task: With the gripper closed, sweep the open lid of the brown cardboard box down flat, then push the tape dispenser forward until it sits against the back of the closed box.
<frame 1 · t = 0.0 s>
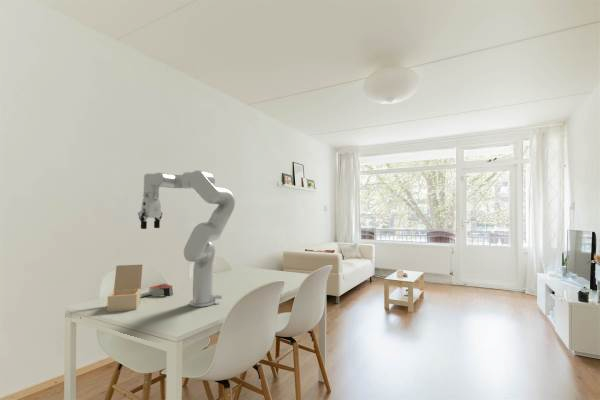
hand: (150, 228, 172), 37 cm above the table, tool pointing down, fingers open, 9 cm apart
box: (124, 307, 155), on the table
tape dispenser: (155, 296, 177), on the table
lid: (128, 277, 163), point 13 cm above the table, hinge at 110.0°
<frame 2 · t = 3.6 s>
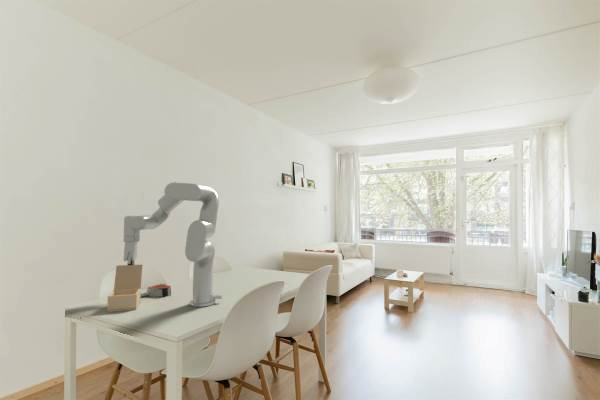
hand: (130, 273, 168), 13 cm above the table, tool pointing down, fingers closed
lid: (128, 277, 163), point 13 cm above the table, hinge at 110.0°, touching gripper
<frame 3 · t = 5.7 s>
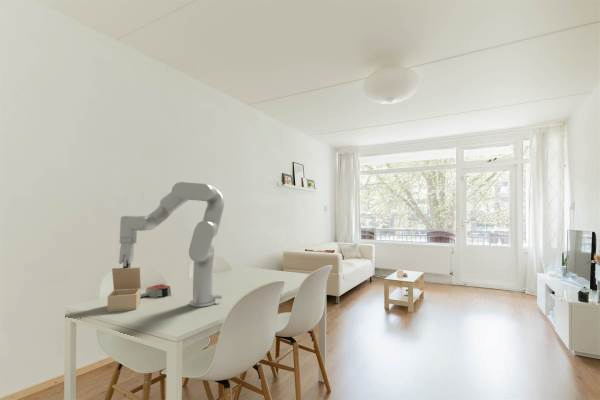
hand: (126, 277, 160), 13 cm above the table, tool pointing down, fingers closed
lid: (126, 278, 159), point 13 cm above the table, hinge at 65.2°, touching gripper
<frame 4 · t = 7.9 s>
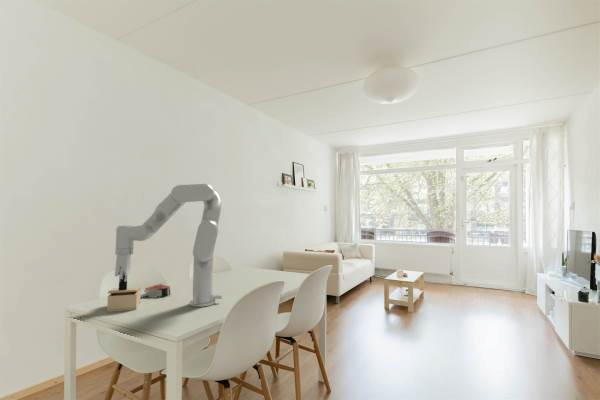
hand: (122, 289, 152), 9 cm above the table, tool pointing down, fingers closed
lid: (125, 289, 155), point 8 cm above the table, hinge at 6.0°, touching gripper
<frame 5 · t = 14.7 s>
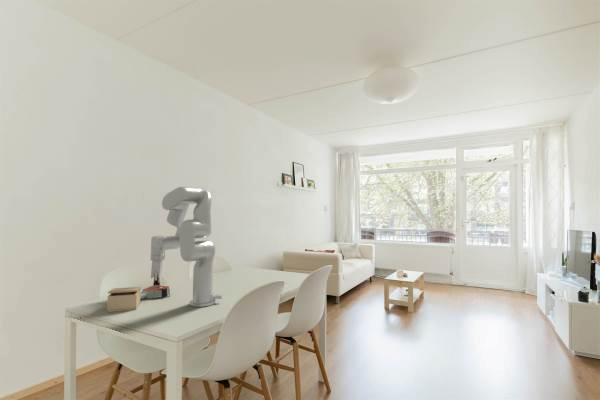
hand: (156, 289, 183), 2 cm above the table, tool pointing down, fingers closed
tape dispenser: (150, 298, 172), on the table, touching box, gripper
lid: (125, 289, 155), point 8 cm above the table, hinge at 6.0°
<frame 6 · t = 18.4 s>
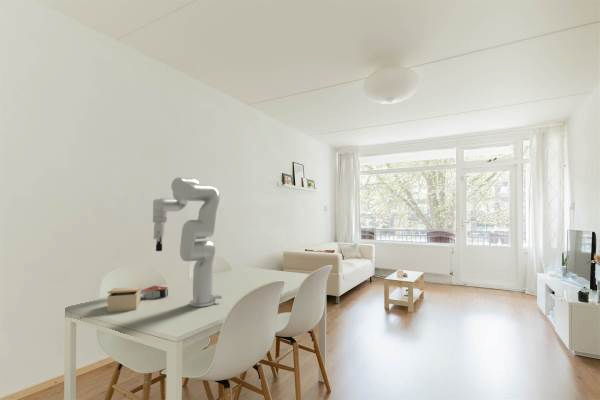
hand: (159, 250, 189), 23 cm above the table, tool pointing down, fingers closed
tape dispenser: (148, 298, 172), on the table
everything else where it was.
at the end: lid at +6° (first picture: +110°); tape dispenser 3.2 cm from the target spot, on the table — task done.
